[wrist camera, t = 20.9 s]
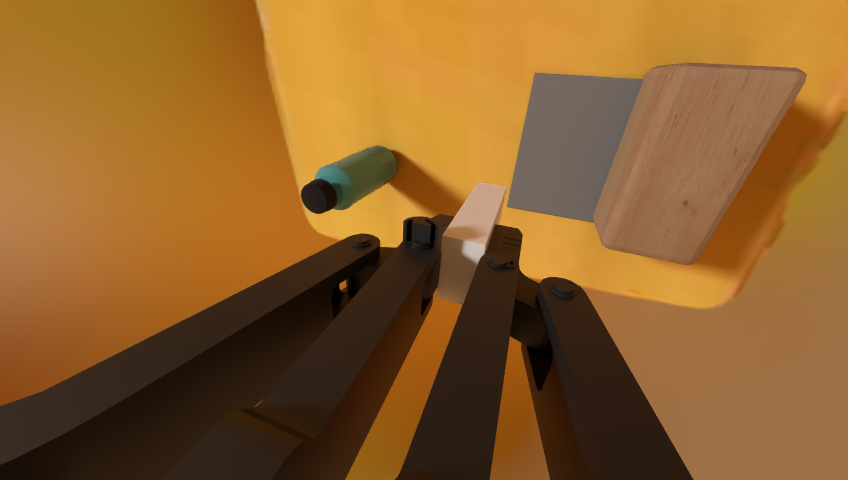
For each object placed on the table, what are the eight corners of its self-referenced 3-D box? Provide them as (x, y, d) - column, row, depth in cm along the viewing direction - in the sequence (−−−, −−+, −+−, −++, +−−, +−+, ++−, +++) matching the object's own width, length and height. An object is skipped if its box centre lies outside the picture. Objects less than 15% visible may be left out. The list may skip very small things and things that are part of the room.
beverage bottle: (378, 134, 51) (298, 160, 34) (409, 159, 51) (343, 197, 34) (363, 164, 54) (283, 201, 38) (391, 187, 55) (324, 234, 38)
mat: (535, 72, 40) (535, 72, 39) (738, 85, 34) (740, 85, 33) (507, 205, 49) (507, 206, 48) (662, 233, 43) (663, 235, 43)
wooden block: (820, 68, 24) (696, 270, 34) (750, 71, 33) (666, 233, 42) (677, 61, 27) (600, 250, 37) (646, 66, 35) (589, 219, 45)
